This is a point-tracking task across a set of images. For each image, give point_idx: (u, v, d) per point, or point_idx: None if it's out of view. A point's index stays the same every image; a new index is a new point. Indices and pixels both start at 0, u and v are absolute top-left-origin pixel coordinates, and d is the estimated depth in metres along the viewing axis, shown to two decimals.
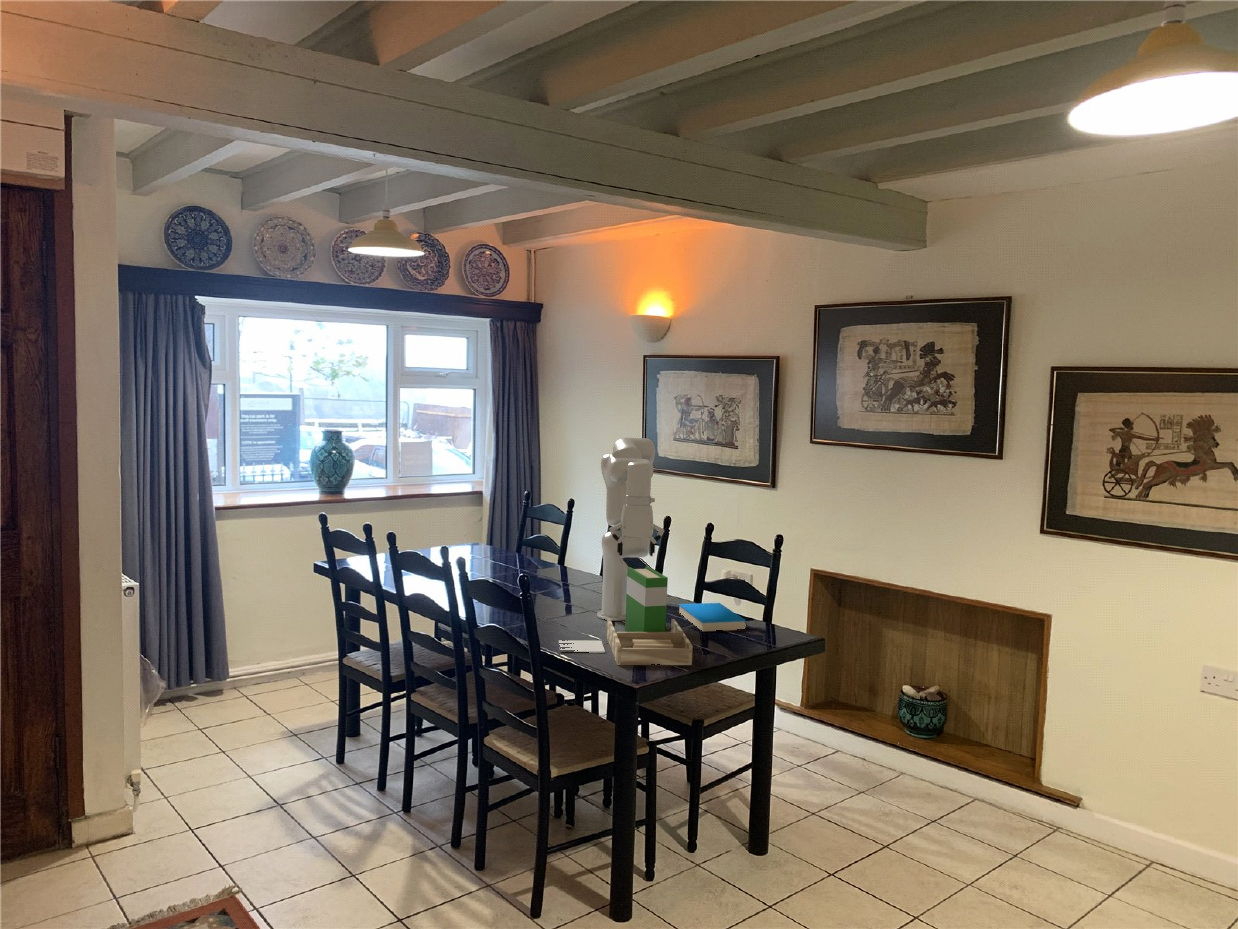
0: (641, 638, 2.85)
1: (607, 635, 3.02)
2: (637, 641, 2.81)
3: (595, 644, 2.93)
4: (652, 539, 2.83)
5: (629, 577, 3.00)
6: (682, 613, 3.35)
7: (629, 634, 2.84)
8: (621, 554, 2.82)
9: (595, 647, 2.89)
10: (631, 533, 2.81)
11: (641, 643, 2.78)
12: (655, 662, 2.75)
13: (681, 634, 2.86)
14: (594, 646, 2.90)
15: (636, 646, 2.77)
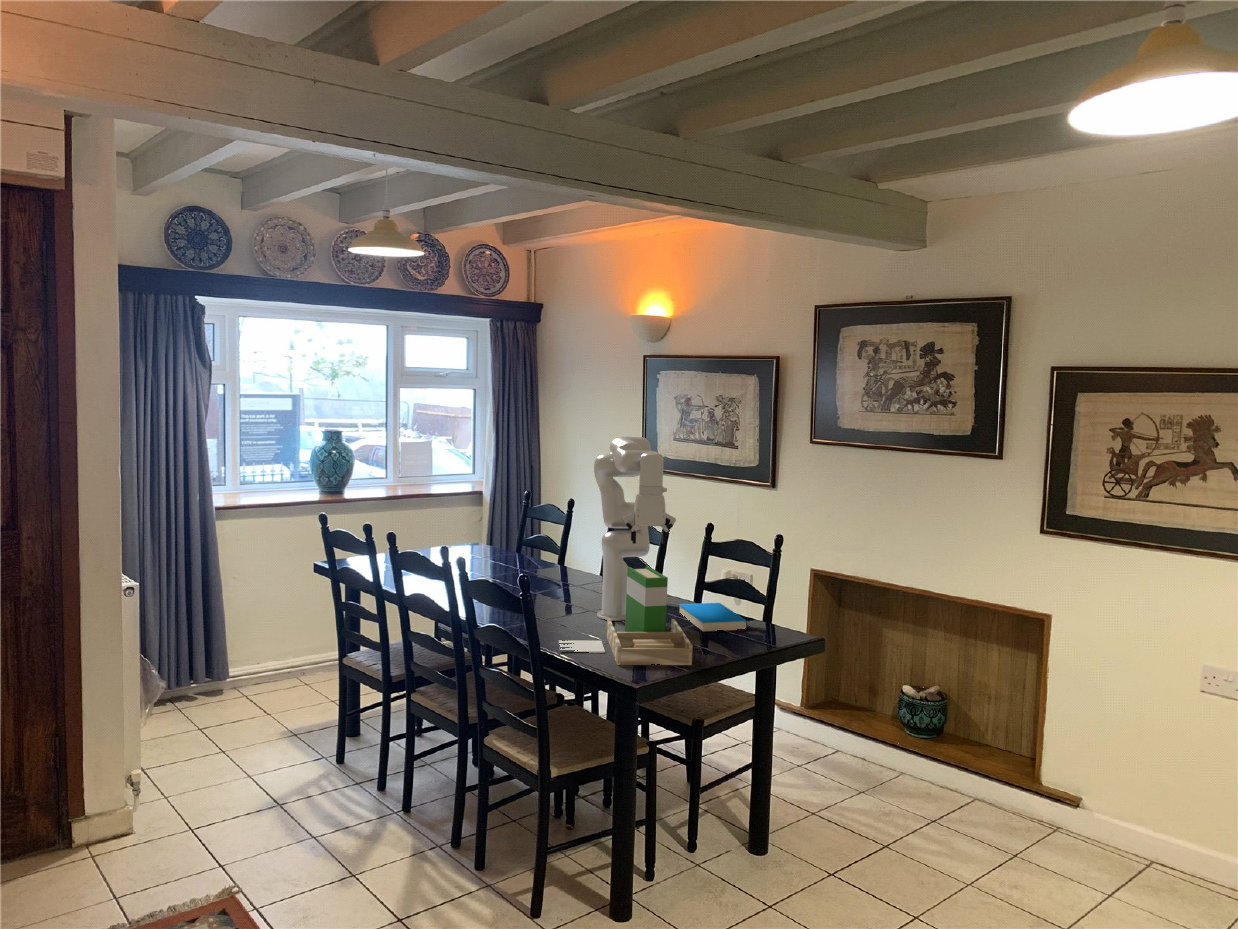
0: (641, 638, 2.85)
1: (607, 635, 3.02)
2: (637, 641, 2.81)
3: (595, 644, 2.93)
4: (664, 527, 2.92)
5: (629, 577, 3.00)
6: (682, 613, 3.35)
7: (629, 634, 2.84)
8: (635, 542, 2.91)
9: (595, 647, 2.89)
10: (644, 522, 2.91)
11: (642, 643, 2.78)
12: (655, 662, 2.75)
13: (681, 634, 2.86)
14: (594, 646, 2.90)
15: (637, 646, 2.77)
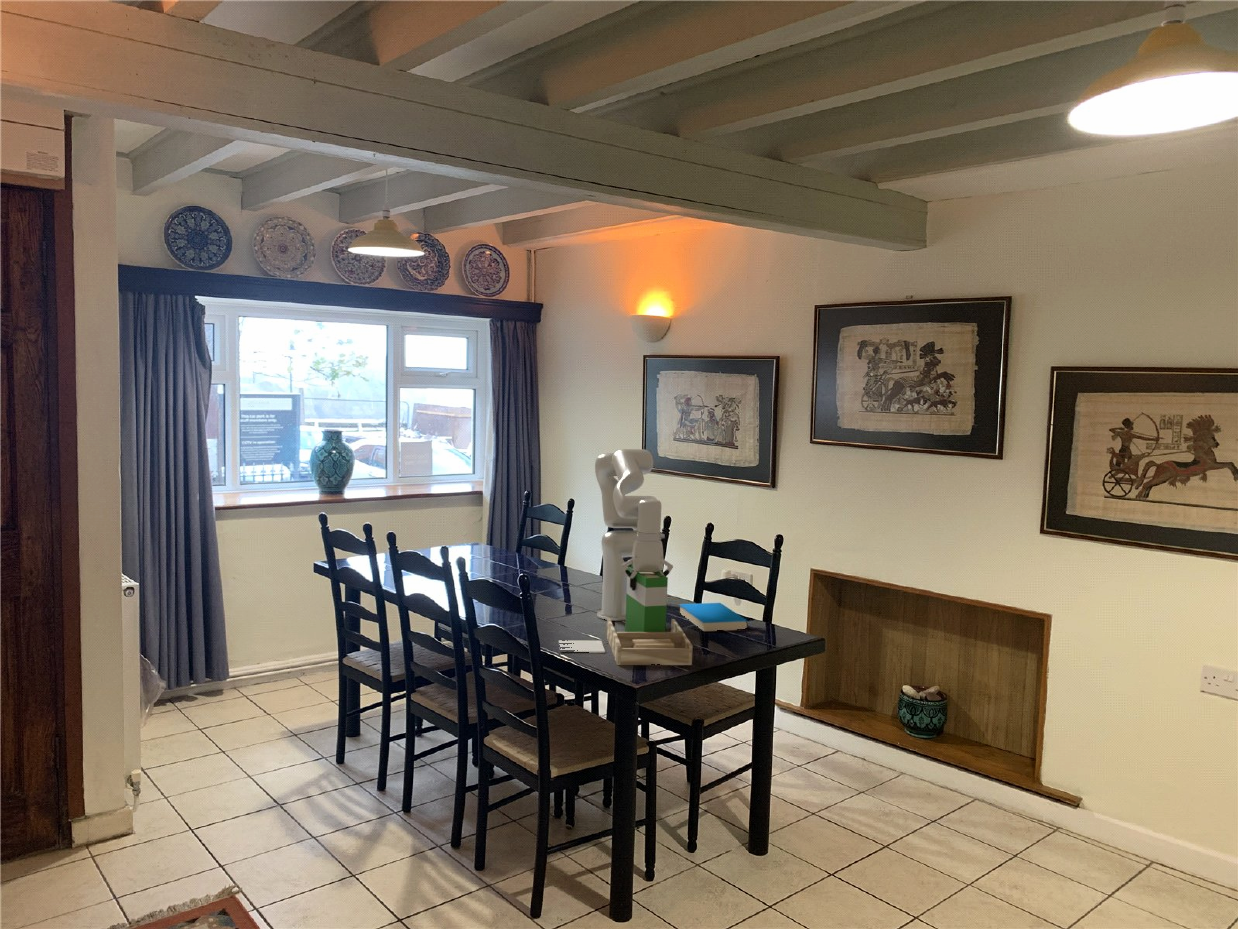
0: (641, 638, 2.85)
1: (607, 635, 3.02)
2: (637, 641, 2.81)
3: (595, 644, 2.93)
4: None
5: (629, 577, 3.00)
6: (683, 613, 3.35)
7: (629, 634, 2.84)
8: (634, 589, 2.93)
9: (595, 647, 2.89)
10: (642, 568, 2.92)
11: (642, 643, 2.78)
12: (655, 662, 2.75)
13: (681, 634, 2.86)
14: (594, 646, 2.90)
15: (637, 646, 2.77)
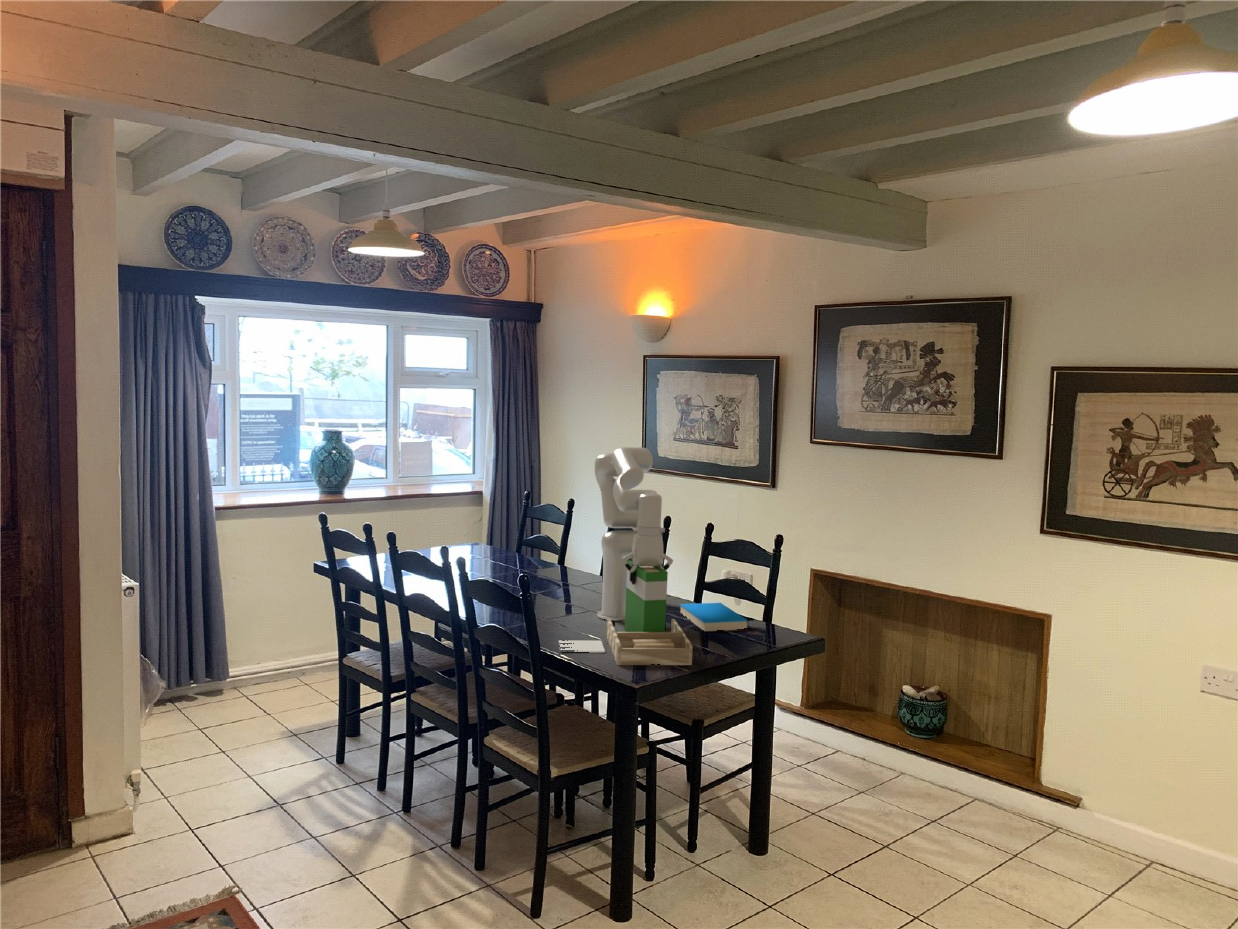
0: (641, 638, 2.85)
1: (607, 635, 3.02)
2: (637, 641, 2.81)
3: (595, 644, 2.93)
4: None
5: (629, 571, 3.00)
6: (683, 613, 3.35)
7: (629, 634, 2.84)
8: (633, 583, 2.93)
9: (595, 647, 2.89)
10: (642, 562, 2.92)
11: (642, 643, 2.78)
12: (655, 662, 2.75)
13: (681, 634, 2.86)
14: (594, 646, 2.90)
15: (637, 646, 2.77)
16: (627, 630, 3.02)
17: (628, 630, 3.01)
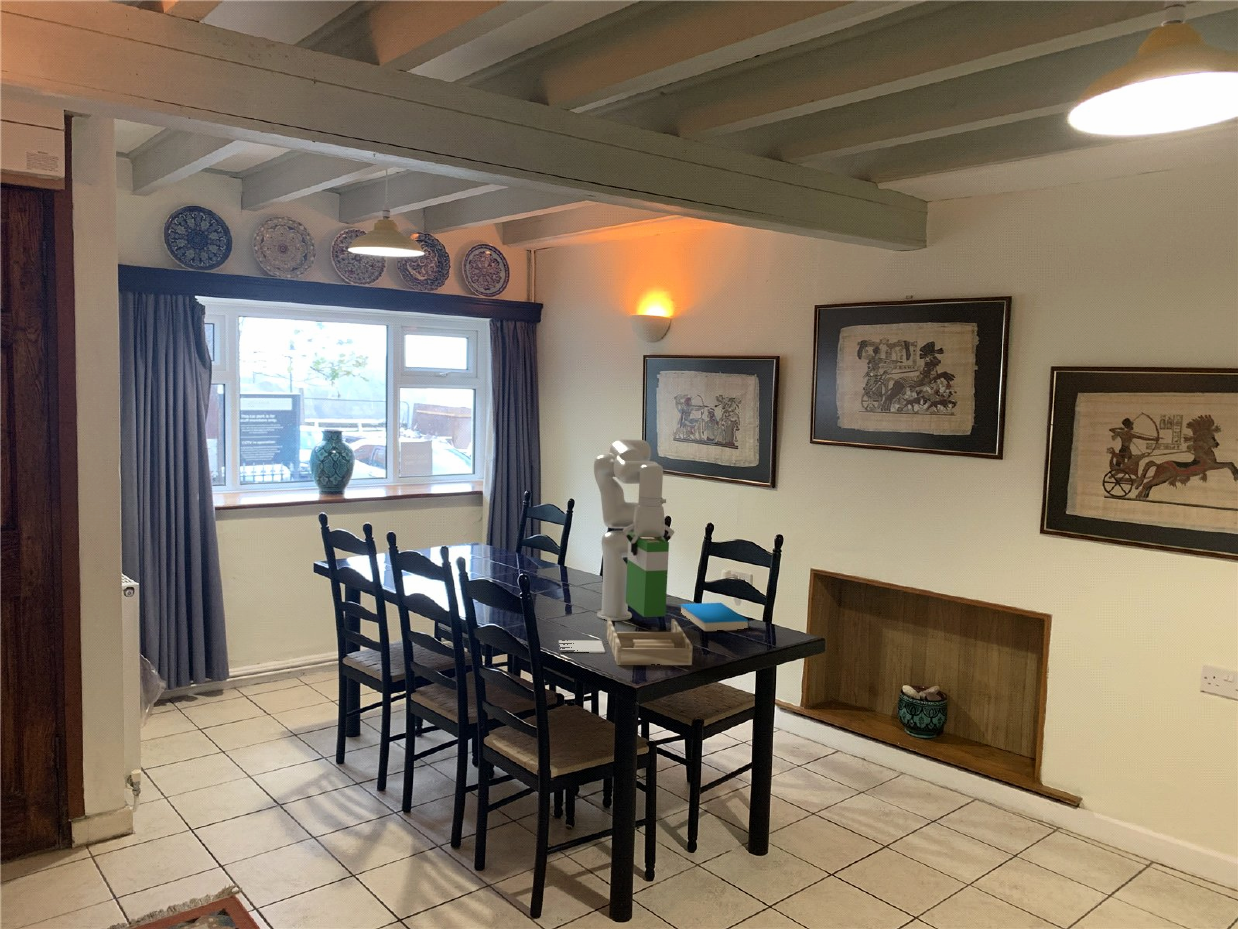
0: (641, 638, 2.85)
1: (607, 635, 3.02)
2: (637, 641, 2.81)
3: (595, 644, 2.93)
4: None
5: (630, 542, 2.99)
6: (684, 613, 3.35)
7: (629, 634, 2.84)
8: (635, 554, 2.92)
9: (595, 647, 2.89)
10: (643, 533, 2.91)
11: (642, 643, 2.78)
12: (655, 662, 2.75)
13: (681, 634, 2.86)
14: (594, 646, 2.90)
15: (637, 646, 2.77)
16: (628, 602, 3.01)
17: (629, 602, 3.00)
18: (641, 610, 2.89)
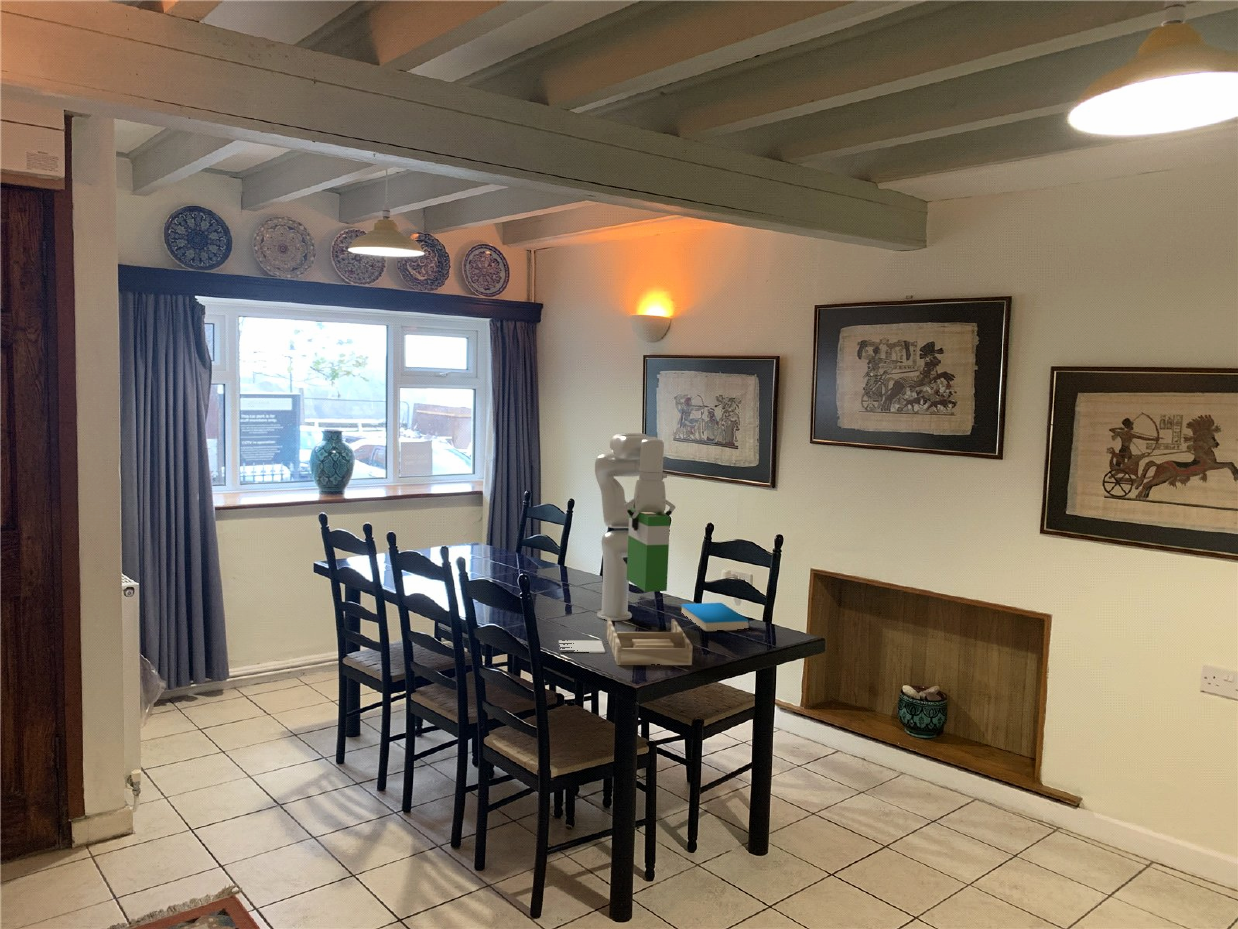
0: (641, 638, 2.85)
1: (607, 635, 3.02)
2: (637, 640, 2.81)
3: (595, 644, 2.93)
4: None
5: (631, 518, 2.98)
6: (684, 613, 3.35)
7: (629, 634, 2.84)
8: (636, 529, 2.91)
9: (595, 647, 2.89)
10: (644, 508, 2.90)
11: (641, 643, 2.79)
12: (655, 662, 2.75)
13: (681, 634, 2.86)
14: (594, 646, 2.90)
15: (637, 646, 2.77)
16: (629, 578, 3.00)
17: (630, 578, 2.99)
18: (642, 585, 2.88)
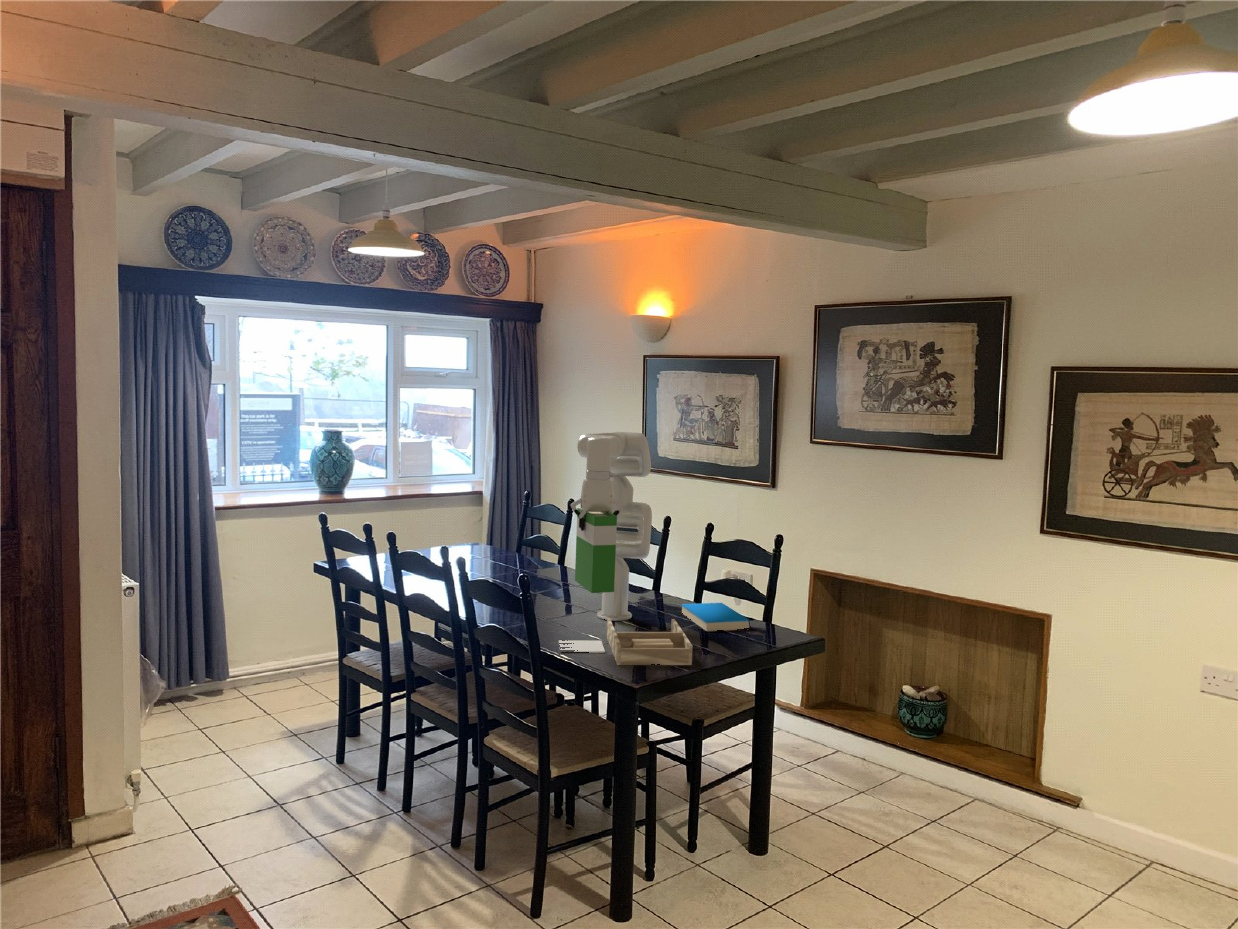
0: (641, 638, 2.85)
1: (607, 635, 3.02)
2: (636, 640, 2.81)
3: (595, 644, 2.93)
4: None
5: None
6: (685, 613, 3.35)
7: (629, 634, 2.84)
8: (582, 529, 2.86)
9: (595, 647, 2.89)
10: (591, 507, 2.85)
11: (641, 643, 2.79)
12: (655, 662, 2.75)
13: (681, 634, 2.86)
14: (594, 646, 2.90)
15: (636, 645, 2.77)
16: (577, 579, 2.94)
17: (578, 579, 2.93)
18: (589, 586, 2.82)
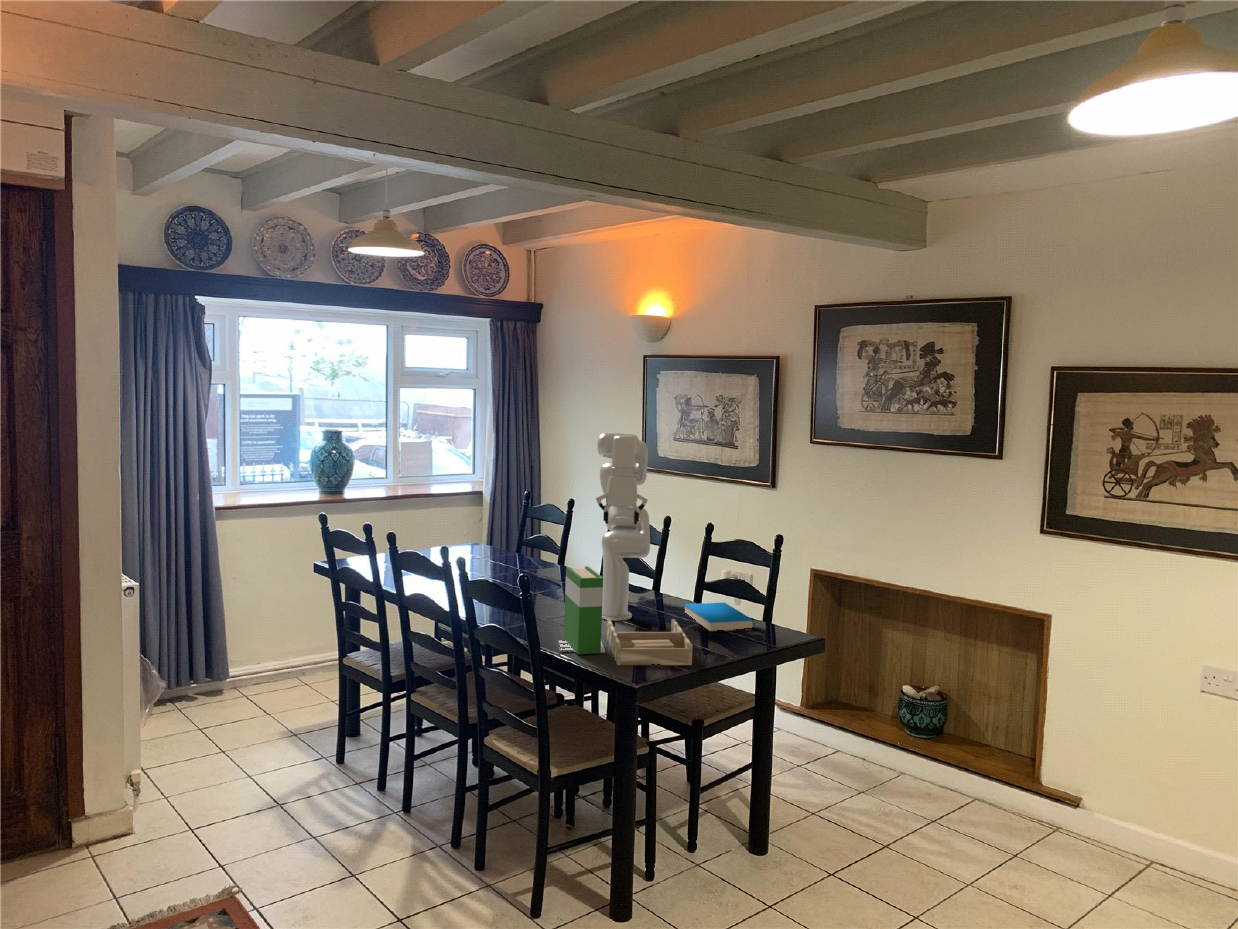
0: (641, 638, 2.85)
1: (607, 635, 3.02)
2: (636, 641, 2.80)
3: None
4: (636, 508, 3.01)
5: (567, 577, 2.94)
6: (688, 613, 3.36)
7: (629, 634, 2.84)
8: (607, 522, 3.00)
9: None
10: (616, 502, 2.99)
11: (641, 644, 2.78)
12: (655, 662, 2.75)
13: (681, 634, 2.86)
14: None
15: (637, 647, 2.76)
16: (566, 638, 2.95)
17: (566, 638, 2.94)
18: (575, 647, 2.83)
